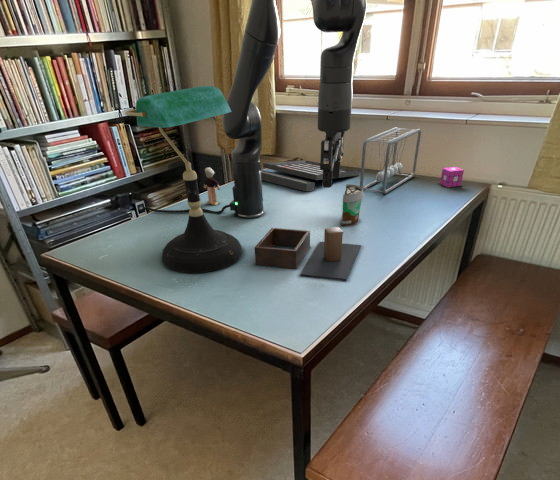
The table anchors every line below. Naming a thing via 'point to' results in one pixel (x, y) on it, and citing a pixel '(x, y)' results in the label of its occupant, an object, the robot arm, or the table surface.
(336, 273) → the mat
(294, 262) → the crate
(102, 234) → the table surface
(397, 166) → the newton's cradle
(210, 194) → the grandmother figurine
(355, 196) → the food container
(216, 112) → the banker's lamp
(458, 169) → the puzzle toy
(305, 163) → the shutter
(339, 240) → the wooden block
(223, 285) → the table surface
